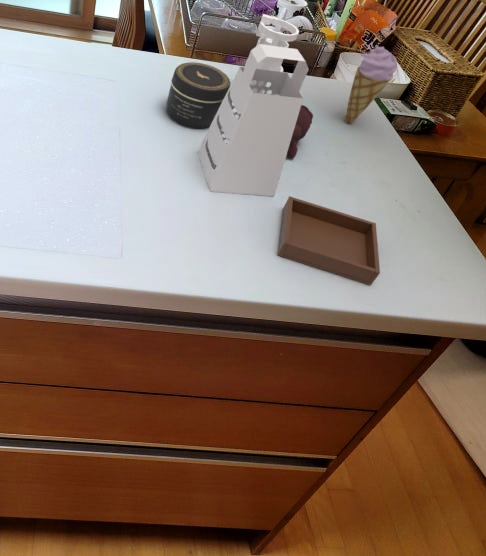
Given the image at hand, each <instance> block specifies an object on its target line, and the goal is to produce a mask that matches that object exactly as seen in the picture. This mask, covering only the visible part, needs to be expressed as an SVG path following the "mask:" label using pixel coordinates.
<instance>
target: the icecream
mask: <svg viewBox="0 0 486 556" xmlns="http://www.w3.org/2000/svg"><path fill="white" fill-rule="evenodd" d="M313 119H314V114H313V113H312V112H311V110H310V109H309V108H308V107H307V106H306V105H304V104H301V107H300V111H299V114H298V118H297V121H296V124H295V128H294V131H293V135H292V138H291V141H290V145H289V148H288V152H287V155H286V156H287V157H288V158H289V159H293V158H295V157H296V156H297V152H298V146H297V142H298V141H300V140H302V139H304V137H306V135H307V134H308V132H309V130H310V128H311V125H312V124H313Z"/></svg>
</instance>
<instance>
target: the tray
mask: <svg viewBox="0 0 486 556" xmlns="http://www.w3.org/2000/svg"><path fill="white" fill-rule="evenodd" d="M278 241H279V242H278V249H277V256H278V257H281V258H285V259H288V260H290V261H294V262H297V263H300V264H303V265H306V266H310V267H313V268H316V269H318V270H322V271H324V272H325V271H326V272H328V273H331V274H334V275H338V276H340V277H343V278H345V279H346V278H347V279H350V280H353V281H356V282H359V283H362V284H365V285H369V286H372V284H373V283H374V282H375V280H376V279H377V278H378V277H379V275H380V273H381V269H380V258H379V257H380V256H379V246H378V234H377V223H376V222H373V221H370V220H367V219H363V218H360V217H357V216H354V215H351V214H348V213H344V212H341V211H338V210H334V209H332V208H328V207H325V206H322V205H319V204H315V203H313V202H309V201H306V200H303V199H300V198H297V197H293V196H288V198H287V200H286V201H285V204H284V206H283V208H282V215H281V223H280V232H279V240H278Z"/></svg>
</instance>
